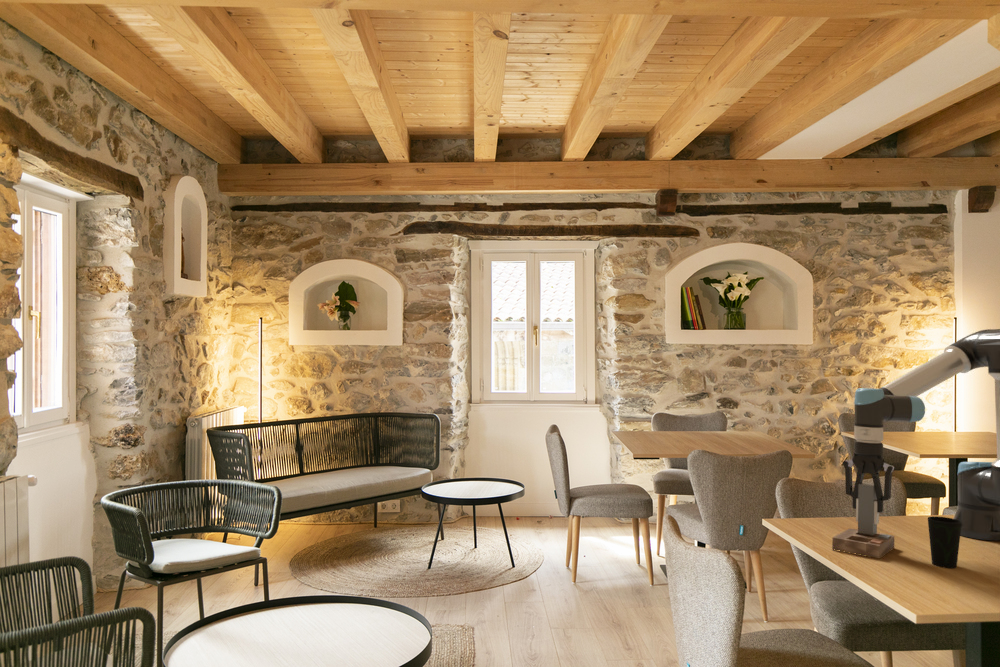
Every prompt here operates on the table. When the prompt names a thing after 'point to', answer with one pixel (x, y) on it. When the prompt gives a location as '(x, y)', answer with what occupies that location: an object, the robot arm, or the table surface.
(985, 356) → the robot arm
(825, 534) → the table surface
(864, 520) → the plug
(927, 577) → the table surface
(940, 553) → the cup
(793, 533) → the table surface
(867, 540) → the socket block
